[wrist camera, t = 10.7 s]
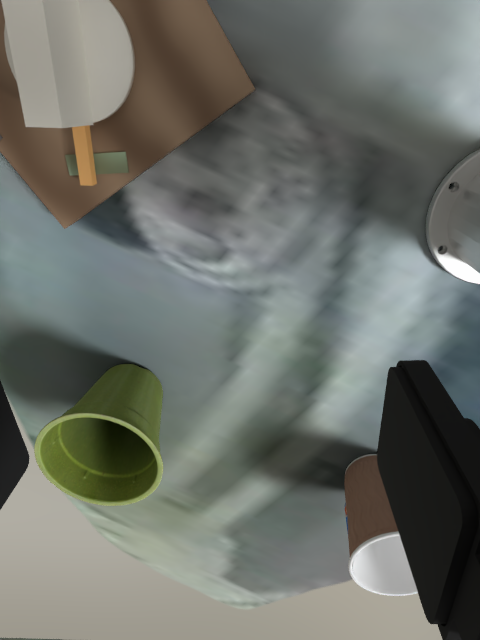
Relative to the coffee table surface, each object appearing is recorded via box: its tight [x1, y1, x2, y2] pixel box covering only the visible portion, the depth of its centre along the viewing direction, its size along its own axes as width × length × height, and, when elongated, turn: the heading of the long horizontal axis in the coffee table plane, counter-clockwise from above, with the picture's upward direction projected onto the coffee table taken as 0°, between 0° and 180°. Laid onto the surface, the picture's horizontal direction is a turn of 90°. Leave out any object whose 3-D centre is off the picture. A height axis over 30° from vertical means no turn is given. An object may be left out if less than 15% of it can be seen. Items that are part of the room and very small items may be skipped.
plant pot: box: [34, 364, 163, 506], centre depth 43 cm, size 12×12×11 cm
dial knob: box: [1, 0, 135, 186], centre depth 28 cm, size 14×9×6 cm, turn 178°
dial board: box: [0, 0, 255, 229], centre depth 32 cm, size 20×18×3 cm
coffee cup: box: [344, 454, 418, 596], centre depth 47 cm, size 10×10×12 cm
